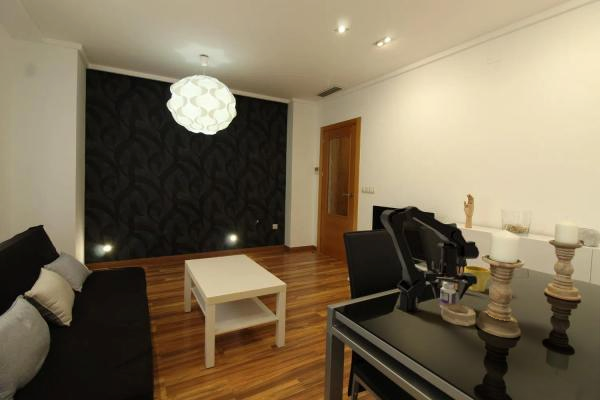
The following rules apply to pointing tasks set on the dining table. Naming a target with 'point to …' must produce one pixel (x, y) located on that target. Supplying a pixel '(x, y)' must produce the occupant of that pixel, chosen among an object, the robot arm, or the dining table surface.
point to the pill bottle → (447, 294)
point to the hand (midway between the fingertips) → (447, 298)
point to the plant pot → (478, 277)
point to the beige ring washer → (458, 314)
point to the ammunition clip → (456, 282)
